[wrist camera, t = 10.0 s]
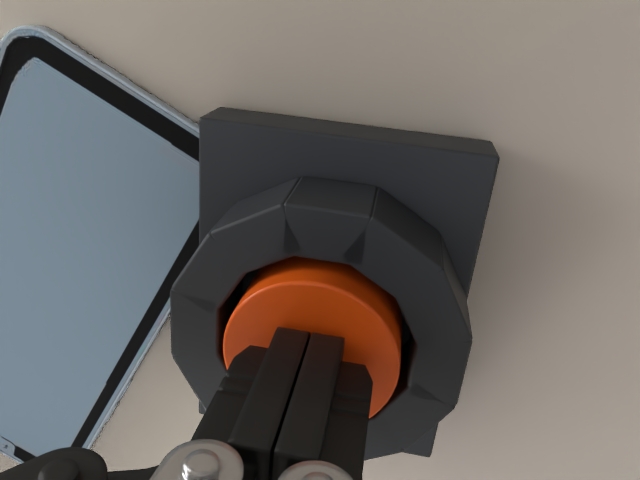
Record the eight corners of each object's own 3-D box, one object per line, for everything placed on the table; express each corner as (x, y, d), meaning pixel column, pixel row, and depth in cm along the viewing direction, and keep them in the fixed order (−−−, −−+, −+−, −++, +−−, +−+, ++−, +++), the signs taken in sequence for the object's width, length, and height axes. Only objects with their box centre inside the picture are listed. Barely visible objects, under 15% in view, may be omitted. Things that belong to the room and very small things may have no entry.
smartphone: (257, 167, 15) (66, 489, 21) (265, 159, 15) (78, 472, 21) (8, 7, 14) (-115, 389, 20) (29, 6, 15) (-96, 375, 21)
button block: (218, 105, 14) (162, 136, 11) (492, 140, 14) (514, 183, 10) (214, 383, 18) (171, 464, 15) (429, 422, 17) (431, 517, 14)
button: (246, 235, 13) (223, 268, 12) (414, 261, 13) (414, 298, 11) (241, 371, 15) (220, 415, 13) (389, 398, 14) (385, 447, 13)
